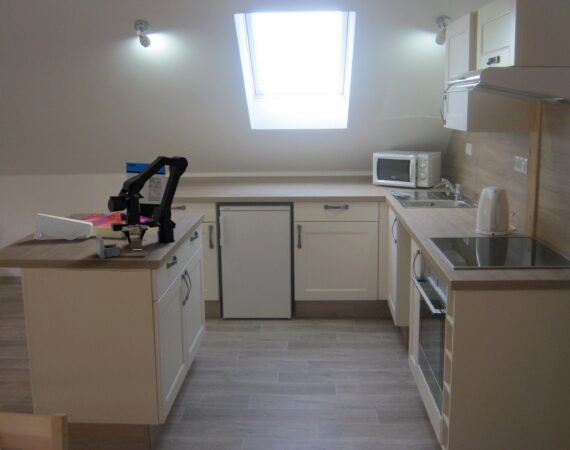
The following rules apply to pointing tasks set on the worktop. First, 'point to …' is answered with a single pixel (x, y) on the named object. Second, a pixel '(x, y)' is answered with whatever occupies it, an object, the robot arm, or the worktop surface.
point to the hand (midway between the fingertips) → (135, 244)
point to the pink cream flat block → (104, 225)
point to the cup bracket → (106, 248)
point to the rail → (135, 242)
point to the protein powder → (148, 188)
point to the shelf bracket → (61, 227)
